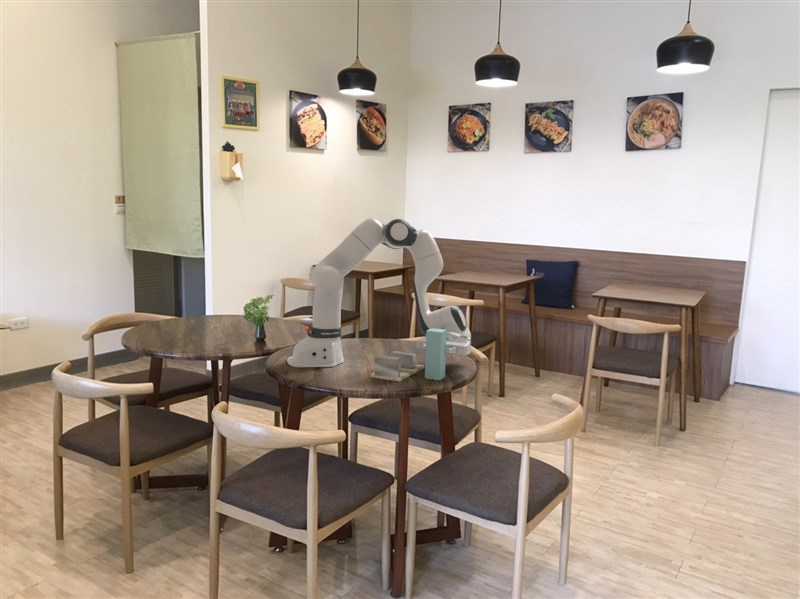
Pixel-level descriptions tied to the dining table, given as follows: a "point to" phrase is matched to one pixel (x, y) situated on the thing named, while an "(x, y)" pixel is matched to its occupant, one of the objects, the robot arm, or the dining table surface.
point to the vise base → (402, 373)
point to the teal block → (435, 354)
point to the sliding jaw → (405, 359)
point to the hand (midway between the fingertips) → (436, 350)
